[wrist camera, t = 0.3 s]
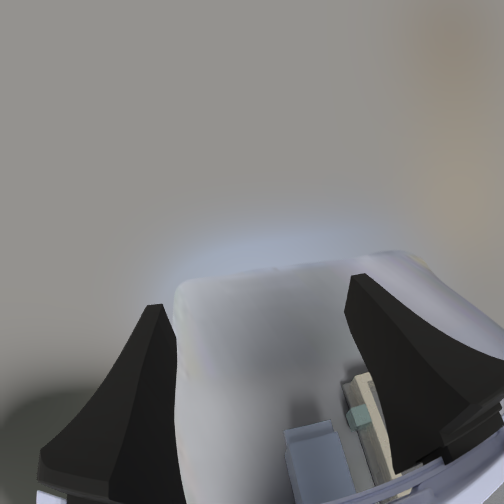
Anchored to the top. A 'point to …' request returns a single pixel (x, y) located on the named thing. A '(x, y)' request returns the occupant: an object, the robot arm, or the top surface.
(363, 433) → the frame
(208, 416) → the top surface
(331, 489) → the block
